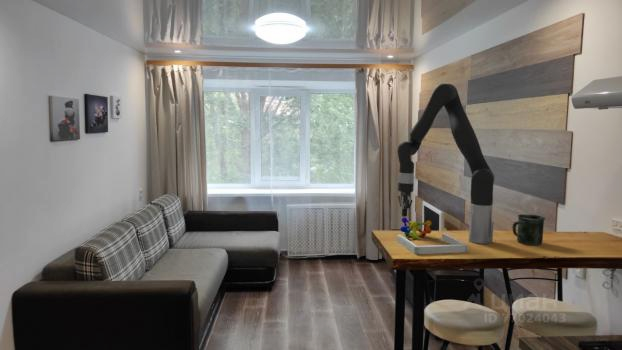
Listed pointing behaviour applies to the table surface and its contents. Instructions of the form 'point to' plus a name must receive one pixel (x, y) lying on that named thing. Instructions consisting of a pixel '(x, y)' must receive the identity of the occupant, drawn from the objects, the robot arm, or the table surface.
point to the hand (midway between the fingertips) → (404, 216)
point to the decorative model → (415, 226)
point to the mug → (529, 229)
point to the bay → (435, 246)
